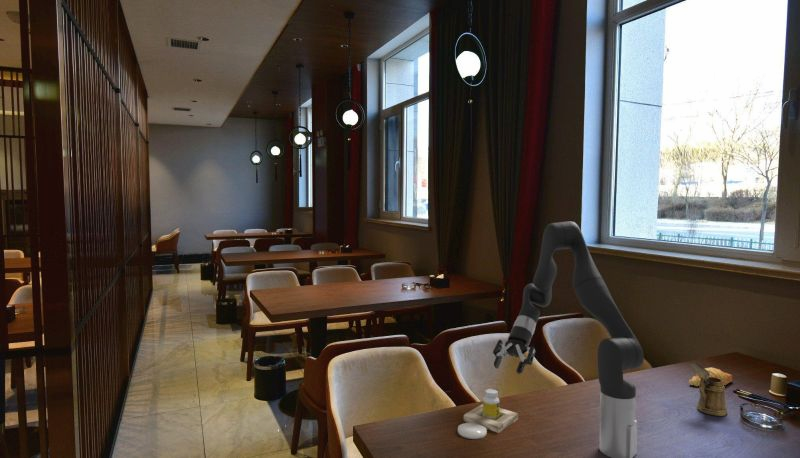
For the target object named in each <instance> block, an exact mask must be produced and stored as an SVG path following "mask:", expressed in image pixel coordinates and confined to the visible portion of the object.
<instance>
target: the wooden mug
mask: <svg viewBox="0 0 800 458" xmlns="http://www.w3.org/2000/svg"><path fill="white" fill-rule="evenodd" d="M690 368H691V370H692V372H693V373H694V374H695V376H696V375H697V376H699V377H700V379H701V380H700V385H699V387H698V388H699V389H698V390H699V391H698V392H699V398H698V402H697V403H696V404H697V405H696V409H697V410H698V411H699V412H701V413H704V414H706V415H710V416H713V415H714V417H725V416H727V415H728V408H727V405H726V403H727V402H726V396H725V391H726V388H725V387H726V385H725V386H724V383H723V380H721V379H719V378H716V377H710V376H709V373H708V372H707V370H706V369H704V368H705V367H703V366H702V365H700V364H698V363H697V362H693V363H691V364H690ZM726 414H727V415H726Z"/></svg>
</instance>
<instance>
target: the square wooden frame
mask: <svg viewBox="0 0 800 458" xmlns="http://www.w3.org/2000/svg"><path fill="white" fill-rule="evenodd" d="M518 420H519V413H518V412H514V411H511V410H508V409H504V408H501V407H499V418H498V419H497V420H495V421H494V420H491V419H488V418H485V417H483V403H481V404H480V405H478V406H476V407H475V408H473V409H471V410H469V411H468V412H465V414H463V422H465V423H477V424H480V425H483V426H484V427H485V428H486V429H487V430H490V431H492V432H495V433H497V434H499V433H501V432H502V431H504V430H505V429H507V427H509V426H511V425H512V424H513V423H515V422H516V421H518Z"/></svg>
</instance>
